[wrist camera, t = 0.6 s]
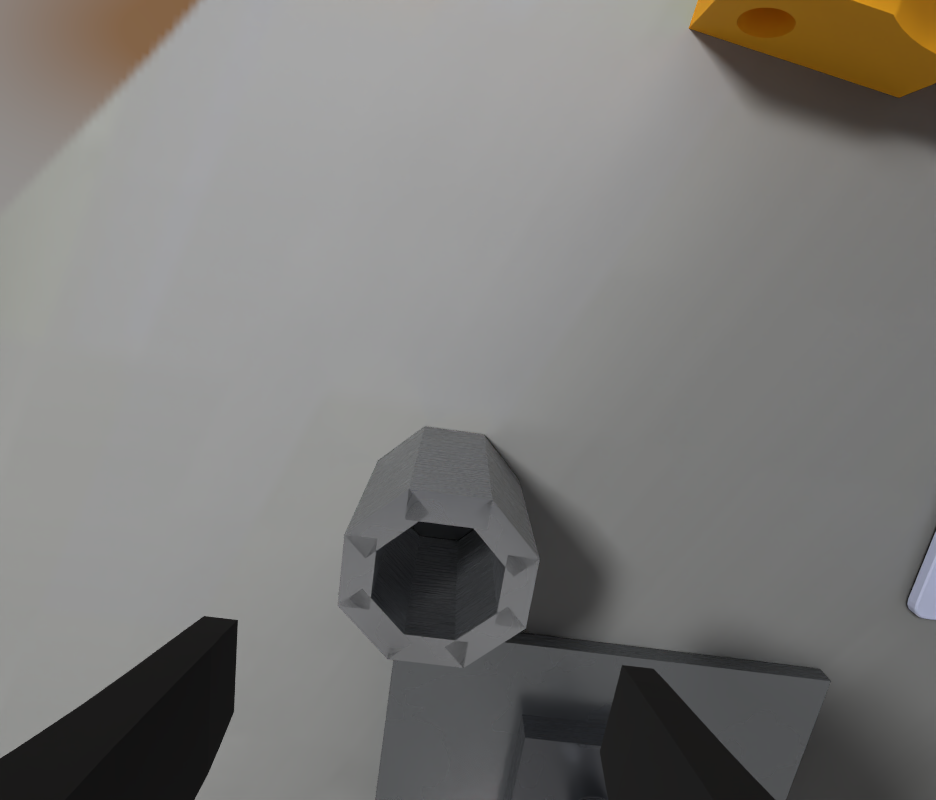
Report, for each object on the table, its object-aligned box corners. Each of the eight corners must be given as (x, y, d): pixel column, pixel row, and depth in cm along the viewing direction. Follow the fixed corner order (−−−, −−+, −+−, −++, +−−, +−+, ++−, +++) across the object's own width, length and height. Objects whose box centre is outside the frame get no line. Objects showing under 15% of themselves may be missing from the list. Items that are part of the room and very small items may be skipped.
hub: (525, 440, 17) (550, 506, 12) (502, 567, 18) (516, 674, 13) (382, 420, 17) (349, 480, 12) (368, 550, 18) (333, 652, 13)
